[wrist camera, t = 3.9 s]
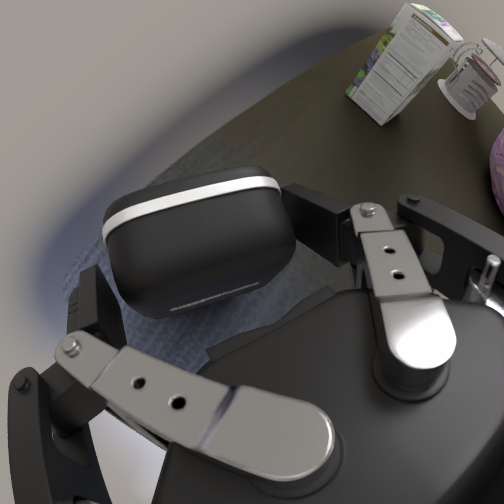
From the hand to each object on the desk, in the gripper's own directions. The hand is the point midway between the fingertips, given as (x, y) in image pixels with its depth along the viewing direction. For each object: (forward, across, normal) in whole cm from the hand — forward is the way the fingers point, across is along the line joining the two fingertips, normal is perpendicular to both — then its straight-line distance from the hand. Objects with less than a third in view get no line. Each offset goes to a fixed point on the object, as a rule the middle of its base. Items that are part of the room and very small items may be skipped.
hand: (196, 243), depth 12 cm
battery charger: (+6, 0, +6) cm, 9 cm away
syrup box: (+14, -26, -1) cm, 30 cm away
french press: (+14, -52, -2) cm, 54 cm away
